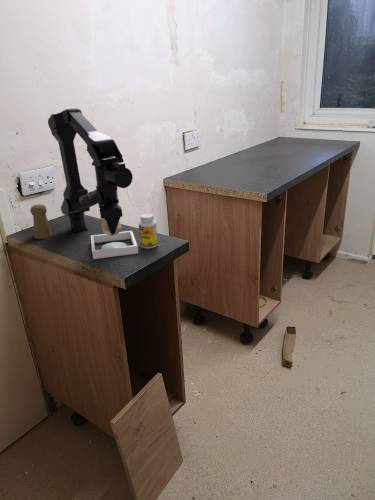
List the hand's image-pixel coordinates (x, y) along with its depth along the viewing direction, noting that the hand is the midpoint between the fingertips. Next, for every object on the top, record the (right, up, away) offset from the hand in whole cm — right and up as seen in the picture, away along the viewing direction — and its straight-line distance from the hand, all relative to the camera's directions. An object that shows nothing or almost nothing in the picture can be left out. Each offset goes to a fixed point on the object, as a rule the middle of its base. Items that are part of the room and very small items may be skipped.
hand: (112, 230), depth 125 cm
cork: (-27, -1, +14) cm, 30 cm away
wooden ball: (0, -1, +1) cm, 2 cm away
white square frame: (0, -5, +2) cm, 6 cm away
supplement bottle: (+11, -5, +3) cm, 13 cm away
